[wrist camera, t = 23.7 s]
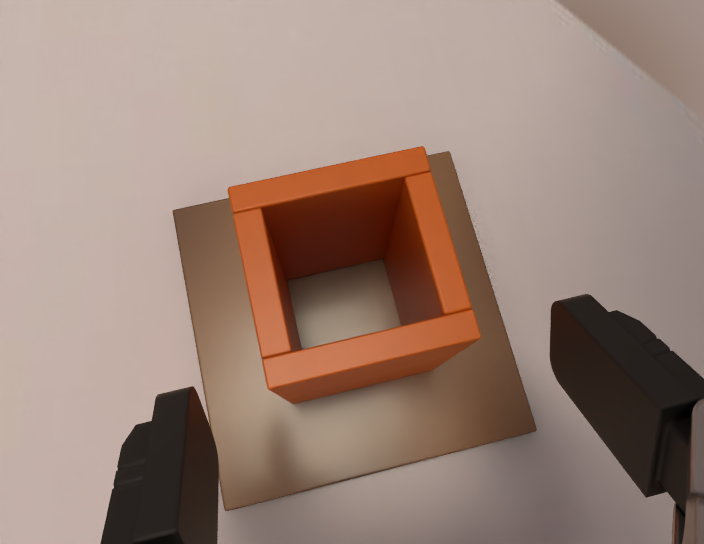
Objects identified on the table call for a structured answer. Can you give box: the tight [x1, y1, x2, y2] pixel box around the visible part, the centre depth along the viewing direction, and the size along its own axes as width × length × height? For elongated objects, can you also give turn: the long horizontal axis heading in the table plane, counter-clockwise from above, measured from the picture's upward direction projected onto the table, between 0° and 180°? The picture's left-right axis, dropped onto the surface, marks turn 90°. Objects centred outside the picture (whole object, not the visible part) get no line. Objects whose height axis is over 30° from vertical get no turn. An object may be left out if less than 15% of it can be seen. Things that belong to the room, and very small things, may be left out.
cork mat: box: [173, 151, 537, 511], centre depth 23 cm, size 12×12×1 cm
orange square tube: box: [228, 146, 481, 404], centre depth 19 cm, size 6×6×8 cm
